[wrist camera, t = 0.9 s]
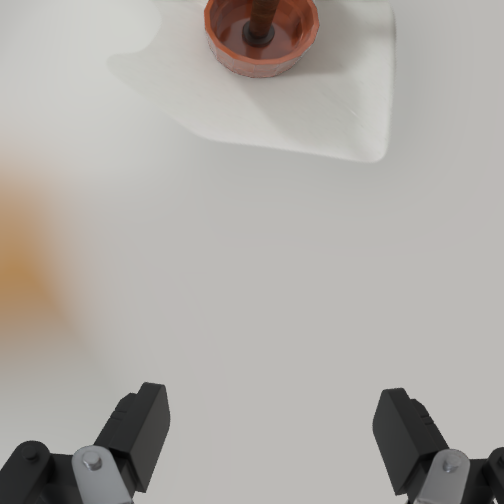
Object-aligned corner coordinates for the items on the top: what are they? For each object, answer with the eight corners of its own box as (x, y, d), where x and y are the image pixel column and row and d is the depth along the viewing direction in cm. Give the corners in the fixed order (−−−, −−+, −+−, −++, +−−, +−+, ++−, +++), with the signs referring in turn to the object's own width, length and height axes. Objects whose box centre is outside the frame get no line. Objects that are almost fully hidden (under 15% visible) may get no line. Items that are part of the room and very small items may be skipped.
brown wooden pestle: (235, 35, 26) (237, -33, 13) (255, 16, 26) (270, -56, 12) (259, 53, 27) (278, -7, 14) (279, 34, 26) (310, -32, 13)
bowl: (189, 42, 27) (180, 23, 21) (251, -15, 25) (255, -42, 19) (263, 97, 29) (269, 86, 24) (322, 36, 27) (339, 17, 21)
